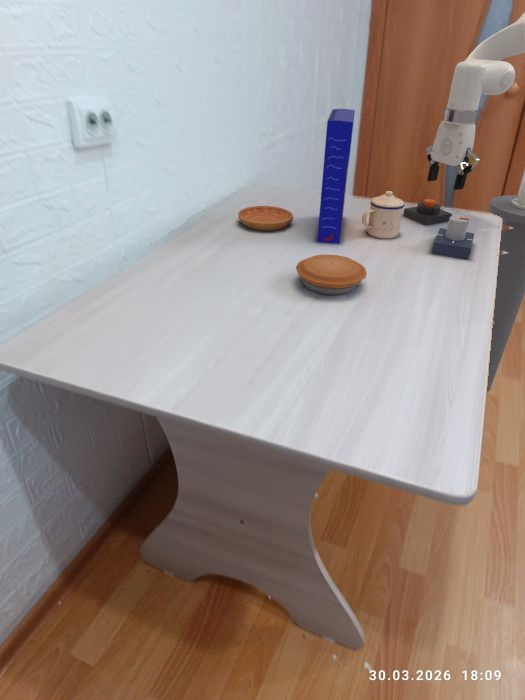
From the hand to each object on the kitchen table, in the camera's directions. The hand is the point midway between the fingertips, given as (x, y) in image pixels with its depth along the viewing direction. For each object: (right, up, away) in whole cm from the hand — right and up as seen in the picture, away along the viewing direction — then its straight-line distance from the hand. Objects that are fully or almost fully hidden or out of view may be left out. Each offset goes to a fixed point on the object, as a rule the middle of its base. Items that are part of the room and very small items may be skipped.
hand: (444, 184), depth 133 cm
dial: (0, -16, -8) cm, 18 cm away
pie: (-36, -31, -26) cm, 54 cm away
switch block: (0, -5, +15) cm, 16 cm away
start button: (0, -2, +13) cm, 13 cm away
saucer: (-50, -9, +8) cm, 51 cm away
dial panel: (0, -19, -6) cm, 20 cm away
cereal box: (-31, -11, +5) cm, 33 cm away
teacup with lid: (-18, -13, +2) cm, 23 cm away
